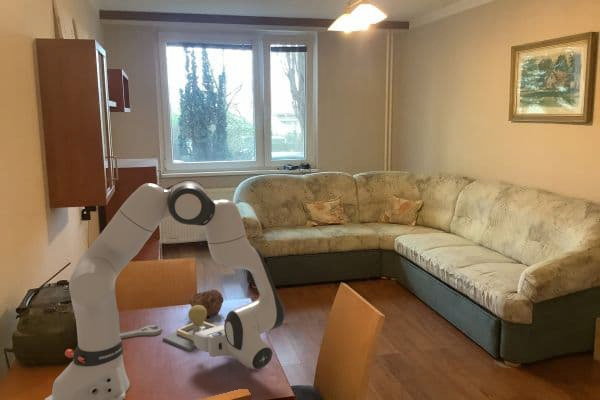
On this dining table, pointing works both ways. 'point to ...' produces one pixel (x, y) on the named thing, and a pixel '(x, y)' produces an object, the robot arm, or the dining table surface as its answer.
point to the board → (187, 335)
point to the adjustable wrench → (142, 331)
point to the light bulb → (197, 316)
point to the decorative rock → (208, 301)
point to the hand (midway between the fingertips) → (213, 324)
